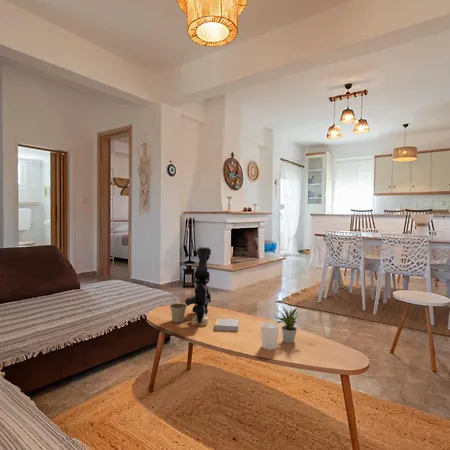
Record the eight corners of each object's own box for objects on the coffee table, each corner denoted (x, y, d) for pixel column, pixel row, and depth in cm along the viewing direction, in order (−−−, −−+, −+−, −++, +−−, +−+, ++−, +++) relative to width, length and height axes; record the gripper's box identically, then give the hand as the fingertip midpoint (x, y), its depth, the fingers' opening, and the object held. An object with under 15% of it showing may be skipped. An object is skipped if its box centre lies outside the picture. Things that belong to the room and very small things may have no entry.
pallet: (192, 325, 175) (192, 318, 175) (194, 321, 181) (194, 315, 181) (206, 325, 175) (207, 319, 174) (208, 322, 181) (208, 316, 180)
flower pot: (185, 324, 176) (185, 308, 176) (167, 323, 176) (168, 307, 176) (187, 318, 186) (187, 303, 185) (171, 318, 186) (171, 303, 185)
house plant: (282, 332, 167) (283, 301, 167) (307, 338, 159) (309, 305, 159) (269, 340, 156) (270, 307, 155) (296, 348, 148) (297, 312, 147)
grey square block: (196, 318, 176) (196, 312, 176) (197, 316, 180) (197, 310, 180) (203, 318, 176) (203, 313, 176) (204, 316, 180) (204, 311, 180)
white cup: (273, 352, 143) (274, 329, 142) (257, 347, 147) (258, 325, 147) (280, 346, 149) (281, 324, 149) (265, 342, 154) (265, 321, 153)
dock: (217, 322, 179) (217, 318, 179) (238, 324, 178) (238, 319, 178) (214, 329, 168) (215, 324, 168) (238, 331, 167) (238, 326, 167)
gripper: (189, 287, 187) (189, 314, 188) (183, 295, 169) (182, 325, 169) (208, 288, 186) (208, 315, 187) (204, 296, 168) (203, 326, 168)
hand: (200, 320), depth 178 cm, fingers open, 7 cm apart
